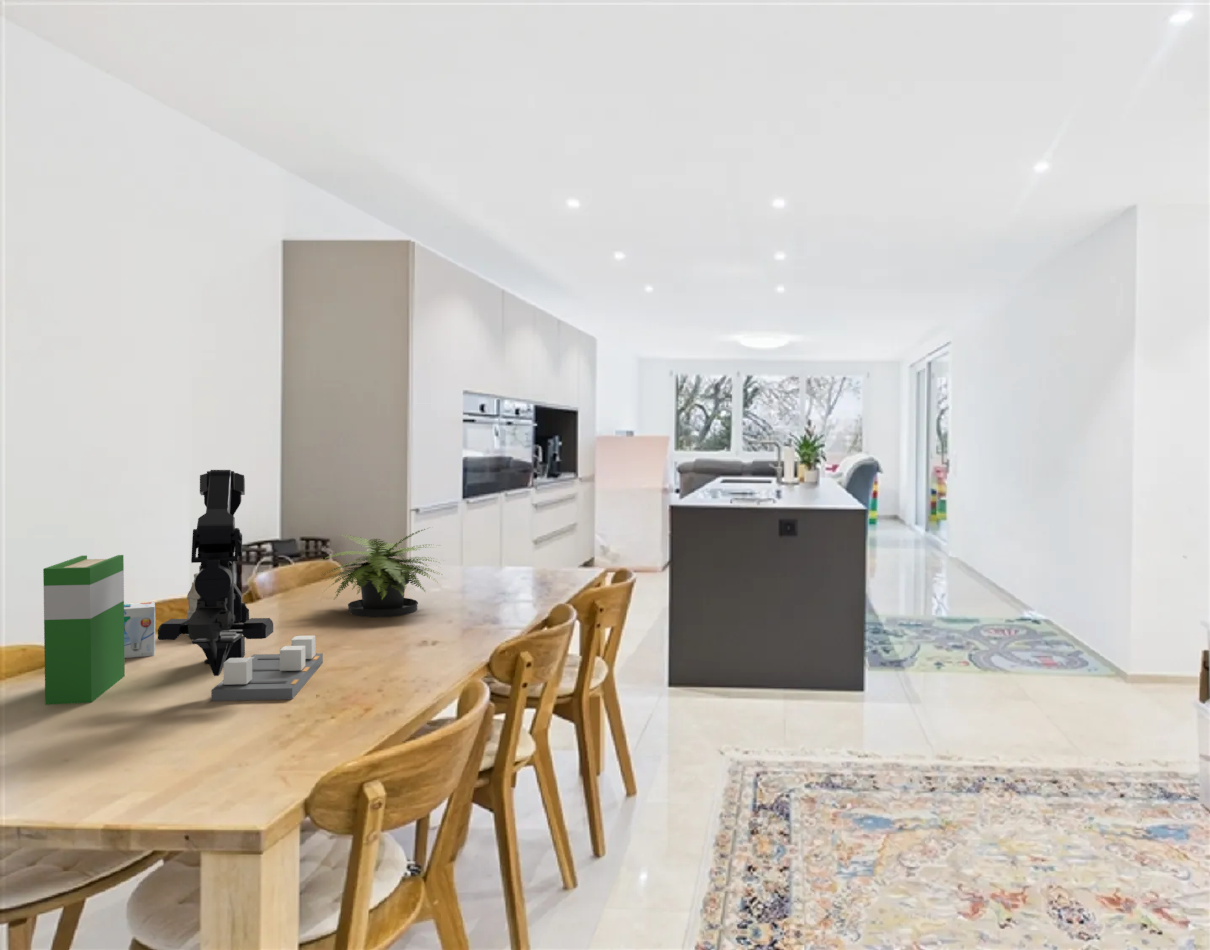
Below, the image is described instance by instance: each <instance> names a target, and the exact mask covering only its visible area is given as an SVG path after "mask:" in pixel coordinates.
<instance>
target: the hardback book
mask: <svg viewBox="0 0 1210 950" xmlns="http://www.w3.org/2000/svg"><path fill="white" fill-rule="evenodd" d="M124 569H125V568H124V554H117V555H114V556H112V557H109V558H88V555H79V556H76V557H74V558H70V559H69V560H68V559H67V560H64V561H62V562H60V563H59V562H58V563H56V564H53V565H50V566H48V567H45V568H43V571H42V572H43V578H42V579H43V635H44V637H43V640H44V641H43V642H44V644H43V645H44V646H43V647H44V696H45V697H44V705H47V706H49V705H50V706H51V705H64V704H65V705H68V704H86V703H87V704H90V703H91V704H92V703H93V702H94V701H95V700H97V699H98V698H99V697H101V696H102V695H103V694H104V693H105V692H107V691H108V690H110V688H112V687H113V686H114V685H116V684H117V683H118V682H119V681H120V680H122V679H123V678H124V677H125V668H126V666H125V658H124V604H125V590H124V589H125V588H124V587H125V586H124V584H125V583H124V582H125V580H124V579H125V577H124V576H125V575H124Z"/></svg>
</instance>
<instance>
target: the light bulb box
mask: <svg viewBox="0 0 1210 950" xmlns="http://www.w3.org/2000/svg"><path fill="white" fill-rule="evenodd" d="M155 651H156V603H155V602H154V601H147V602H133V603H129V602H128V603H124V659H129V658H141V657H154V656H155Z"/></svg>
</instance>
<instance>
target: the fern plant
mask: <svg viewBox="0 0 1210 950" xmlns="http://www.w3.org/2000/svg"><path fill="white" fill-rule="evenodd" d="M430 528H431V529H432V527H429V529H430ZM425 530H427V528H424V529H421V530H417V531H415V532H414V533H413V532H412V533H411V534H409V535H406V536H405V537H403V538H402V539H400V540H399V541H398V542H395V543H391V542H390V543H388V542H385V540H382V539H380V538H370V539H369V538H363V537H361V536H355V535H352V536H351V535H342V534H341V535H340V537H341V536H342V537H345V538H347V539H349V540H350V541H354V543H356V544H359V545H360V546H361V547H363V546H365V547H366V548H367V549H366V551H362V550H358V551H356V550H354V551H348V550H347V551H341V552H339V551H338V552H335V554H332V555H329V556H326V559H329V558H335V557H339V556H340V555H341V557H342V556H346V555H348V556H349V555H357V554H358V555H359V554H360V555H363V556H361V558H356V560H355V561H349V562H348V563H345V564H341V566H338V567H336V568H333V569H330V570H328V571H326V572H324V573H322V576H325V575H327V574H329V573H331V572H332V574H333V573H335V572H338V571H339V569H342V568H347V567H350V569H348V570H343V571H341V572H340V571H339V573H337V574H335V575H334V576H330V577H327V579H326V581H328V580H333V579H334V578H336V579H335V580H334V582H332V584H331V585H334V584H336V583H338V582H340V581H341V580H342V581H341V583H339V584H340V585H338V588H337V590H335V597H334V599H337V598H338V597H339V595H340V593H341V592H343V591H344V589H346V588H348V586H350V584H352V588H351V590H354V589H356V590H357V593H356V595H358V594H359V593H361V599H357V600H352V601H350V602H349V603H348V604H347V605H348V606H347V607H348V613H349V614H350V615H353V616H358V617H367V618H387V617H388V618H389V617H398V616H399V617H400V616H404V615H409V614H412V613H415V612H416V611H417V610H418V604H419V602H418V601H417V600H415V599H413V598H410V597H409V598H407V597H405V592H406V591H405V589H406V588H407V586H408V584H409V583H410V584H411V585H412V586H413V585H415V586H414V587H417V588H419V589H420V590H422V591H423V592H424V593H426V591H427V590H426V589H425V587H423V585H422V584H421V582H420V581H421V580H420V579H419V577H417V574H418V575H422V577H426V578H428V579H429V580H430V579H431V580H433V581H435V582H436V583H437V584H439V583H438V580H437V579H436V578H433V576H432V577H431V575H430V574H429V572H431V573H434V574H437V575H439V572H438V571H436V570H434V569H432V568H430V567H424V566H428V565H430V564H431V563H426V562H427V561H428V562H433V559H434V563H439V564H441V562H439V561H437V558H435V557H430V556H428V558H427V557H425V556H422V557H419V556H415V557H414V556H412V557H409V558H407V557H406V555H405V554H406V552H407V553H408V552H414V551H415V552H416V551H417V552H418V551H420V549H422V548H423V549H424V548H426V549H427V546H428V548H431V546H432V548H438V547H437V546H436V547H433V544H426V543H425V544H419V546H418V545H414V546H411V547H410V546H409V547H406V548H405V547H401V548H400V547H398V545H400V544H401V543H402V542H404V541H405V540H408V539H410V537H413V536H414V535H416V534H418V533H421V532H422V531H423V532H424V531H425ZM438 546H442V545H441V544H438ZM397 547H398V549H395V548H397ZM442 549H443V548H442ZM322 556H325V554H324V555H322ZM394 557H395V558H394ZM396 557H397V558H396ZM398 557H399V558H398ZM321 561H322V559H320V560H318V562H321ZM362 561H365V562H362ZM423 561H424V562H423ZM442 561H443V562H444V561H445V560H444V559H442ZM416 564H421V565H422V566H421V565H416ZM437 566H438V565H437ZM438 568H440V566H438ZM440 575H441V576H443V574H442V573H440ZM349 583H350V584H349ZM329 588H330V586H328V587H327V588H326V589H325V591H327V590H328V589H329ZM323 593H324V591H323V592H322V594H323Z"/></svg>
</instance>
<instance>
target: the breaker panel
mask: <svg viewBox="0 0 1210 950" xmlns="http://www.w3.org/2000/svg"><path fill="white" fill-rule="evenodd" d="M323 655H324V654H323V652H322V653H321V652H320V653H316V652H315V656H314V657H313V658H312V659H305V667H304V668H303V669H302V670H297V671H280V653H268V654H267V653H264V654H263V653H262V654H261V653H260V654H254V653H253V655H251V656H250V657H249V658H252V680H251V681H249V682H248V683H247V684H227V685H224V679H223V680H221V681H220V682H219V683H217V685H215V686H214V687H213V688H212V689H210V690H211V702H222V701H226V702H227V701H228V702H229V701H265V700H266V701H267V700H268V701H269V700H272V701H273V700H293V699H294V698H295V697H296V696H297V694H298V693H299V692H300V691H301V689H302V688H303V687H304V686H305V685H306V684H307V682H308V681H309V680H310V679H311V677H312V676H313V675H314V674H315V673H316V672H317V670H318V669H319V668H320V667H321V666H322V664H323V663H324V662H323V661H324V659H323V658H324V657H323Z"/></svg>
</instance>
